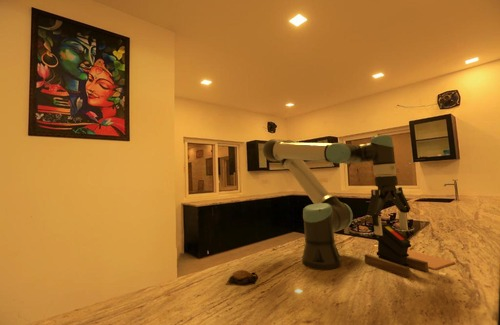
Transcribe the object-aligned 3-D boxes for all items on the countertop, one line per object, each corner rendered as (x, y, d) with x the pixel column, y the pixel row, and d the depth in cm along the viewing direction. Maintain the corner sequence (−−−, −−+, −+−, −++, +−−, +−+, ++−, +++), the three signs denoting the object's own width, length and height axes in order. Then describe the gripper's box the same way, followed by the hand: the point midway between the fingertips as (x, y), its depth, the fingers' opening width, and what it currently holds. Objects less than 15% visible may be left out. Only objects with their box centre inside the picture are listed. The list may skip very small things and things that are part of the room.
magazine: (379, 253, 98) (388, 223, 93) (405, 279, 86) (416, 245, 81) (371, 254, 98) (379, 224, 92) (396, 280, 86) (407, 247, 80)
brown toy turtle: (225, 287, 81) (224, 276, 82) (231, 277, 90) (230, 267, 90) (255, 287, 80) (254, 276, 80) (258, 277, 88) (258, 266, 88)
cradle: (407, 277, 78) (406, 268, 79) (365, 262, 94) (364, 254, 94) (428, 271, 83) (427, 262, 83) (384, 257, 98) (384, 250, 98)
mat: (434, 270, 83) (434, 268, 83) (387, 256, 100) (387, 254, 100) (455, 263, 88) (455, 261, 88) (407, 251, 104) (407, 249, 104)
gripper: (369, 177, 83) (376, 239, 81) (416, 173, 92) (423, 229, 90) (352, 178, 90) (358, 235, 88) (398, 174, 99) (404, 226, 97)
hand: (391, 232), depth 89 cm, fingers open, 13 cm apart
